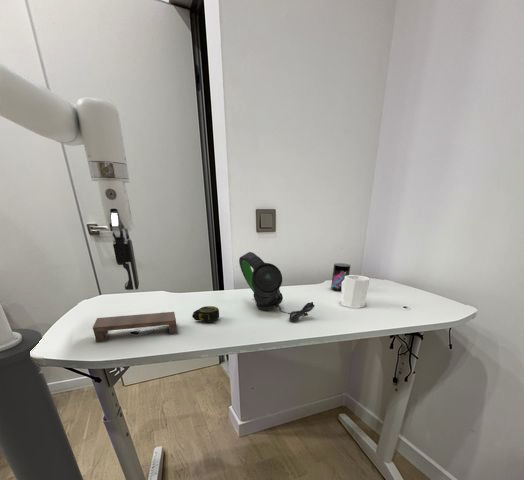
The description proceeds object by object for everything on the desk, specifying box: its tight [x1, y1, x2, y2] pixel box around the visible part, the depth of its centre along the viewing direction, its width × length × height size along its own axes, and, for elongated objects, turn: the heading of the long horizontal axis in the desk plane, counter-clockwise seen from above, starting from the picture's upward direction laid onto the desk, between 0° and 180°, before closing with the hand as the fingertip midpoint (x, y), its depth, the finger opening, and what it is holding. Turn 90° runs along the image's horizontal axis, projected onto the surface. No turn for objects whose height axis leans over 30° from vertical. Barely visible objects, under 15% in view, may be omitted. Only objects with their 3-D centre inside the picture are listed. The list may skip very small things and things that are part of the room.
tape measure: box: [191, 305, 220, 323], centre depth 88 cm, size 7×7×4 cm
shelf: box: [92, 311, 178, 343], centre depth 79 cm, size 20×7×4 cm, turn 109°
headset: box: [238, 251, 315, 322], centre depth 95 cm, size 18×14×29 cm
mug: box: [340, 274, 370, 309], centre depth 106 cm, size 12×9×10 cm
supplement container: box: [330, 262, 352, 292], centre depth 122 cm, size 7×7×10 cm
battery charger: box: [115, 239, 140, 291], centre depth 71 cm, size 7×4×11 cm, turn 19°
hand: (125, 258), depth 71 cm, fingers closed on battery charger, 7 cm apart
